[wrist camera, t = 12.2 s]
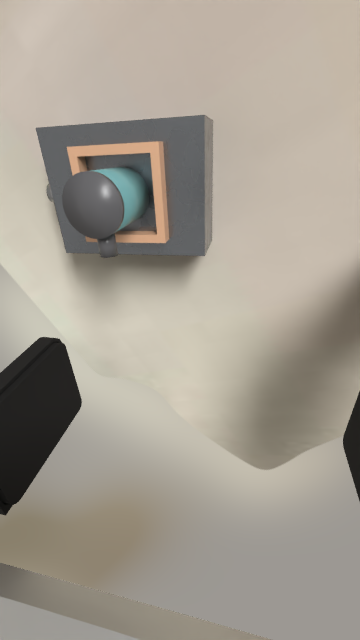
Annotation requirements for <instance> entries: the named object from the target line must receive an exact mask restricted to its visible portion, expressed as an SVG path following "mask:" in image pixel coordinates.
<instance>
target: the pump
mask: <svg viewBox="0 0 360 640" xmlns="http://www.w3.org/2000/svg"><path fill="white" fill-rule="evenodd" d="M62 204H63V209H64V212H65V214H66V217H67V219H68V220H69V222H70V223H71V225H72V226H73V227H74V228H75V229H76V230H77V231H78V232H79V233H81V234H82V235H84V236H86V237H89V238H93V239H97V242H98V247H99V253H100V257H104V258H108V257H114V256H116V255H118V250H117V244H116V238H115V232H117V231H118V230H120V229H122V228H124V227H125V226H127V225H129V224H130V223H132V222H134V221H135V220H137V219H139V218H140V217H141V216H142V215H143V214H144V213H145V212H146V210H147V208H148V204H149V191H148V187H147V185H146V182H145V181H144V179H143V178H142V176H141V175H140V174H139V173H138V172H136V171H135V170H133V169H131V168H128V167H115V168H107V169H100V170H92V171H84V172H79V173H76V174H74V175H73V176H72V177H70V178H69V180H68V181H67V182H66V184H65V186H64V189H63V194H62Z"/></svg>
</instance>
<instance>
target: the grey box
mask: <svg viewBox="0 0 360 640" xmlns="http://www.w3.org/2000/svg"><path fill="white" fill-rule="evenodd" d="M36 131H37V135H38V139H39V143H40V147H41V152H42V156H43V160H44V164H45V168H46V172H47V176H48V180H49V184H48V186H47V196H48V198H49V200H50V201H51V202H54V204H55V208H56V212H57V216H58V220H59V224H60V228H61V232H62V236H63V240H64V244H65V249H66V253H99V247H98V242H97V239H93V238H89V237H86V236H84V235H82V234H81V233H79V232H78V231H77V230H76V229H75V228H74V227H73V226H72V225H71V223H70V222H69V220H68V219H67V217H66V214H65V212H64V209H63V204H62V194H63V189H64V186H65V184H66V182H67V181H68V180H69V178H70V177H72V176H73V175H74V174H76V173H79V172H84V171H92V170H100V169H107V168H115V167H128V168H131V169H133V170H135V171H136V172H138V173H139V174H140V175H141V176H142V178H143V179H144V181H145V182H146V185H147V187H148V191H149V204H148V208H147V210H146V212H145V213H144V214H143V215H142V216H141V217H140V218H139V219H137V220H135V221H134V222H132V223H130V224H129V225H127V226H125V227H124V228H122V229H120V230H118V231H117V232H115V238H116V244H117V250H118V254H143V255H186V256H205V255H206V252H207V250H208V248H209V245H210V243H211V241H212V168H213V120H212V119H210V118H209V117H207V116H205V115H198V116H185V117H172V118H159V119H146V120H133V121H120V122H107V123H94V124H81V125H68V126H55V127H42V128H36Z"/></svg>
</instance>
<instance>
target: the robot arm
mask: <svg viewBox="0 0 360 640" xmlns="http://www.w3.org/2000/svg"><path fill="white" fill-rule="evenodd" d="M81 403H82V402H81V397H80V393H79V390H78V386H77V383H76V380H75V376H74V373H73V370H72V366H71V363H70V360H69V356H68V353H67V350H66V346H65V345H64V344H63V343H62V342H61V341H60V339H57V338H48V337H41V338H39V339H38V340H37V341H35V342H34V343H33V344H32V345H31V346H30V347H29V348H28V349H27V350H25V351H24V352H23V353H22V354H21V355H20V356H19V357H18V358H16V360H14V361H13V362H12V363H11V364H10V365H9V366H8V367H6V368H5V369H4V370H3V371H2V372H1V373H0V514H3V515H6V514H7V513H8V511H9V510H10V508H11V507H12V505H14V504H16V503H17V502H19V500H20V499H21V498H22V496H23V495H24V493H25V492H26V490H27V489H28V487H29V485H30V484H31V483H32V481H33V479H34V478H35V477H36V475H37V473H38V472H39V470H40V469H41V467H42V466H43V464H44V463H45V461H46V460H47V458H48V457H49V455H50V454H51V452H52V451H53V449H54V448H55V446H56V445H57V443H58V442H59V440H60V438H61V437H62V436H63V434H64V432H65V431H66V430H67V428H68V426H69V425H70V423H71V422H72V420H73V419H74V417H75V416H76V414H77V413H78V411H79V410H80V407H81ZM343 446H344V450H345V454H346V457H347V460H348V464H349V467H350V471H351V474H352V477H353V481H354V484H355V487H356V491H357V494H358V497H359V501H360V392H359V395H358V397H357V400H356V403H355V406H354V408H353V411H352V414H351V417H350V420H349V422H348V425H347V428H346V431H345V434H344V437H343ZM0 640H271V639H268V638H264V637H261V636H257V635H254V634H250V633H247V632H243V631H240V630H236V629H232V628H229V627H226V626H222V625H219V624H215V623H212V622H209V621H205V620H201V619H198V618H194V617H191V616H188V615H184V614H180V613H177V612H174V611H170V610H166V609H163V608H159V607H156V606H152V605H149V604H145V603H142V602H138V601H135V600H131V599H128V598H124V597H120V596H117V595H114V594H110V593H106V592H103V591H99V590H95V589H92V588H89V587H85V586H82V585H78V584H74V583H70V582H67V581H64V580H60V579H57V578H53V577H50V576H46V575H42V574H38V573H35V572H32V571H28V570H24V569H21V568H17V567H13V566H10V565H6V564H3V563H0Z"/></svg>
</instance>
